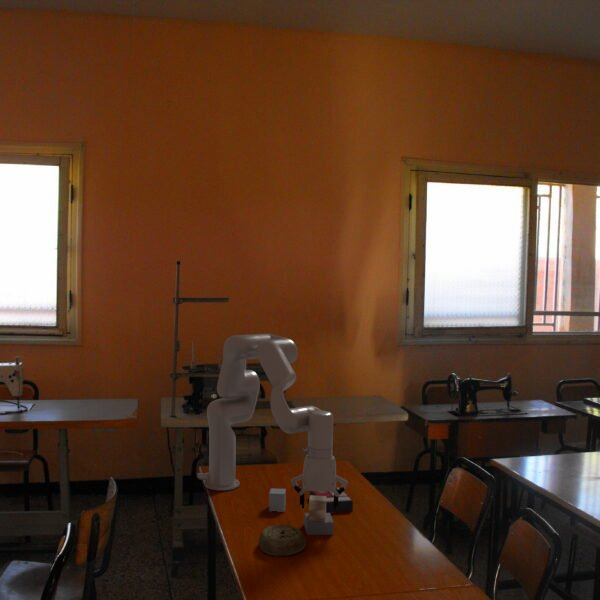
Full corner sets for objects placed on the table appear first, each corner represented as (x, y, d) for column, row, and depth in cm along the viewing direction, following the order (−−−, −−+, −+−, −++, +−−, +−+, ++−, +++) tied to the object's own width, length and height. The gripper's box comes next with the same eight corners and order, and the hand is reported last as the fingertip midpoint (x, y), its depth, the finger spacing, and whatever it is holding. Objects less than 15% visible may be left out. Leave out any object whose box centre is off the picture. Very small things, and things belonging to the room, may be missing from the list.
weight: (289, 562, 187) (289, 544, 186) (248, 550, 194) (249, 533, 193) (314, 545, 198) (314, 528, 198) (275, 534, 205) (275, 518, 205)
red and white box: (339, 486, 240) (353, 498, 225) (339, 498, 240) (353, 511, 225) (309, 488, 237) (321, 500, 223) (309, 500, 237) (320, 514, 223)
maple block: (308, 520, 207) (309, 500, 206) (309, 514, 212) (310, 495, 211) (325, 521, 206) (325, 501, 206) (325, 515, 211) (326, 496, 211)
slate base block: (306, 536, 205) (307, 522, 205) (304, 525, 213) (304, 513, 213) (333, 535, 206) (333, 522, 205) (329, 525, 214) (329, 512, 213)
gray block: (269, 511, 224) (269, 493, 223) (270, 506, 229) (270, 488, 228) (284, 512, 223) (284, 494, 223) (285, 506, 228) (285, 488, 228)
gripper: (290, 454, 205) (289, 510, 206) (348, 456, 204) (347, 513, 205) (292, 447, 212) (291, 502, 213) (348, 449, 211) (347, 504, 212)
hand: (318, 507), depth 209 cm, fingers open, 9 cm apart
